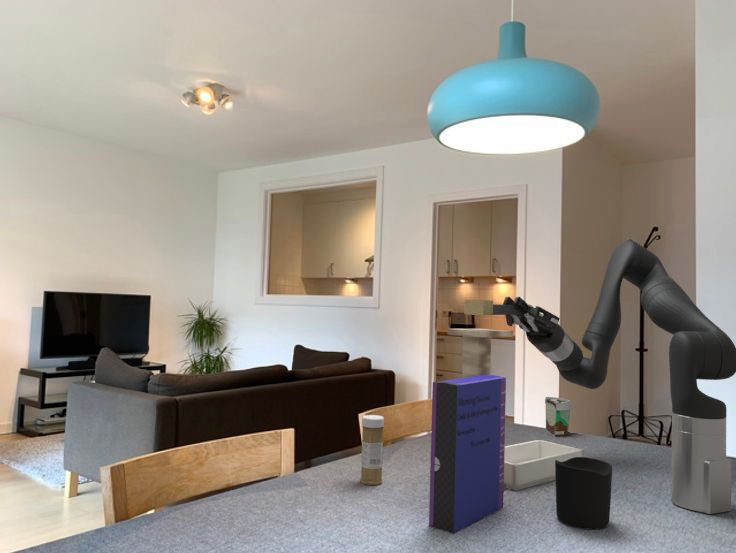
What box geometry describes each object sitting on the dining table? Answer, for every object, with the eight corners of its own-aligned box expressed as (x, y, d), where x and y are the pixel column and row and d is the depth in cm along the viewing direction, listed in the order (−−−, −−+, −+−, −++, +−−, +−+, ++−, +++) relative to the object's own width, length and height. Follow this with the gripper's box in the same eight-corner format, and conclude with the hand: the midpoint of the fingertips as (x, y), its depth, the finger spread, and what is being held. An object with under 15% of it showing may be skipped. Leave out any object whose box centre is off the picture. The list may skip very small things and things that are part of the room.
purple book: (480, 501, 113) (483, 373, 114) (503, 507, 110) (506, 376, 111) (428, 526, 100) (432, 381, 101) (453, 533, 97) (457, 384, 98)
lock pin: (516, 314, 135) (516, 301, 136) (535, 315, 132) (535, 301, 132) (464, 314, 124) (464, 299, 124) (483, 315, 120) (483, 300, 121)
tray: (538, 460, 146) (539, 439, 146) (583, 472, 136) (583, 449, 137) (469, 476, 130) (470, 453, 130) (515, 490, 121) (515, 465, 121)
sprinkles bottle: (381, 479, 126) (383, 414, 126) (382, 486, 121) (384, 418, 122) (359, 479, 125) (361, 414, 126) (360, 485, 121) (362, 418, 121)
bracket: (476, 477, 129) (479, 328, 130) (510, 488, 122) (513, 331, 123) (442, 485, 122) (446, 328, 124) (475, 497, 115) (479, 331, 117)
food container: (577, 439, 172) (578, 403, 172) (556, 438, 172) (556, 403, 172) (564, 430, 184) (565, 397, 184) (544, 429, 184) (545, 396, 185)
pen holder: (617, 533, 99) (617, 472, 100) (558, 528, 101) (559, 467, 101) (605, 514, 108) (605, 458, 109) (551, 509, 110) (552, 454, 110)
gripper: (530, 323, 146) (491, 285, 137) (582, 326, 135) (543, 285, 126) (520, 350, 143) (480, 313, 134) (572, 355, 133) (532, 315, 123)
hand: (511, 300), depth 130 cm, fingers closed on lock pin, 2 cm apart
